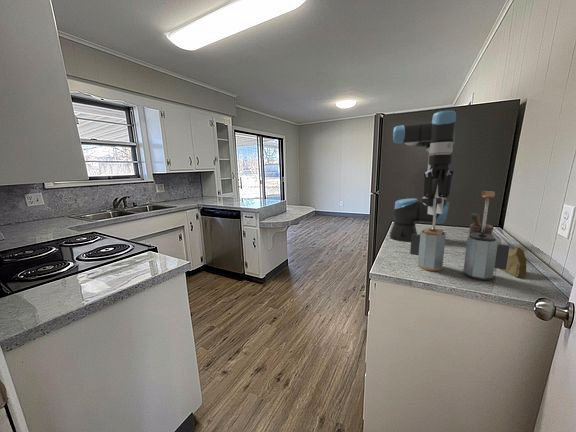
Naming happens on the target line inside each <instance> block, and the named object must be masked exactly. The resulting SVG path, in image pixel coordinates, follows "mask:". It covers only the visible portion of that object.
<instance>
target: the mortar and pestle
mask: <svg viewBox="0 0 576 432" xmlns="http://www.w3.org/2000/svg"><path fill="white" fill-rule="evenodd" d="M470 216H471V220H472V222H473V223H471V224H470V225H469V231H468V232H469V233H468V235H471V234H472V233H478V234H481V230H482V223H481V222H480V214H479V213H477V212H472V213H471V214H470ZM493 228H494V227H493V225H491V224H487V223H486V227H485V234H487V235H493Z"/></svg>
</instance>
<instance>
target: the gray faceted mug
mask: <svg viewBox="0 0 576 432" xmlns="http://www.w3.org/2000/svg"><path fill="white" fill-rule="evenodd" d="M476 239H477V240H476ZM482 240H485V241H482ZM465 245H466V246H465V252H464V261H463V271H462V275H464V277H466V276H467V278H468V277H469V279H471V278H472V280H474V279H476V281H479V280H481V282H489V281H492V279H493V277H494V272H495V271H494V270H495V269H497V270H498V269H499V270H501V269H503V270H506V266H507V260H508V254H509V253H510V247H511V246H510V245H509V244H501V243H499V240H498V238H497V237H494V234H492V235H487V234H484V237H481V234H478V233H472V234H471V235H469V234H467V237H466V244H465ZM503 270H502V271H503Z"/></svg>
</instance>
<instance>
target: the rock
mask: <svg viewBox="0 0 576 432" xmlns="http://www.w3.org/2000/svg"><path fill="white" fill-rule="evenodd" d="M500 270H502V271H503V272H504V273H508V274H510V275H512V276H514V277H517V278H521V279H524V278H526V274H527V259H526V255H525V250H524V249H523V248H521V247H518V246H516V247H515V248H513V249H512V250H511V251H509V254H508V260H507V266H506V270H503V269H500Z"/></svg>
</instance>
